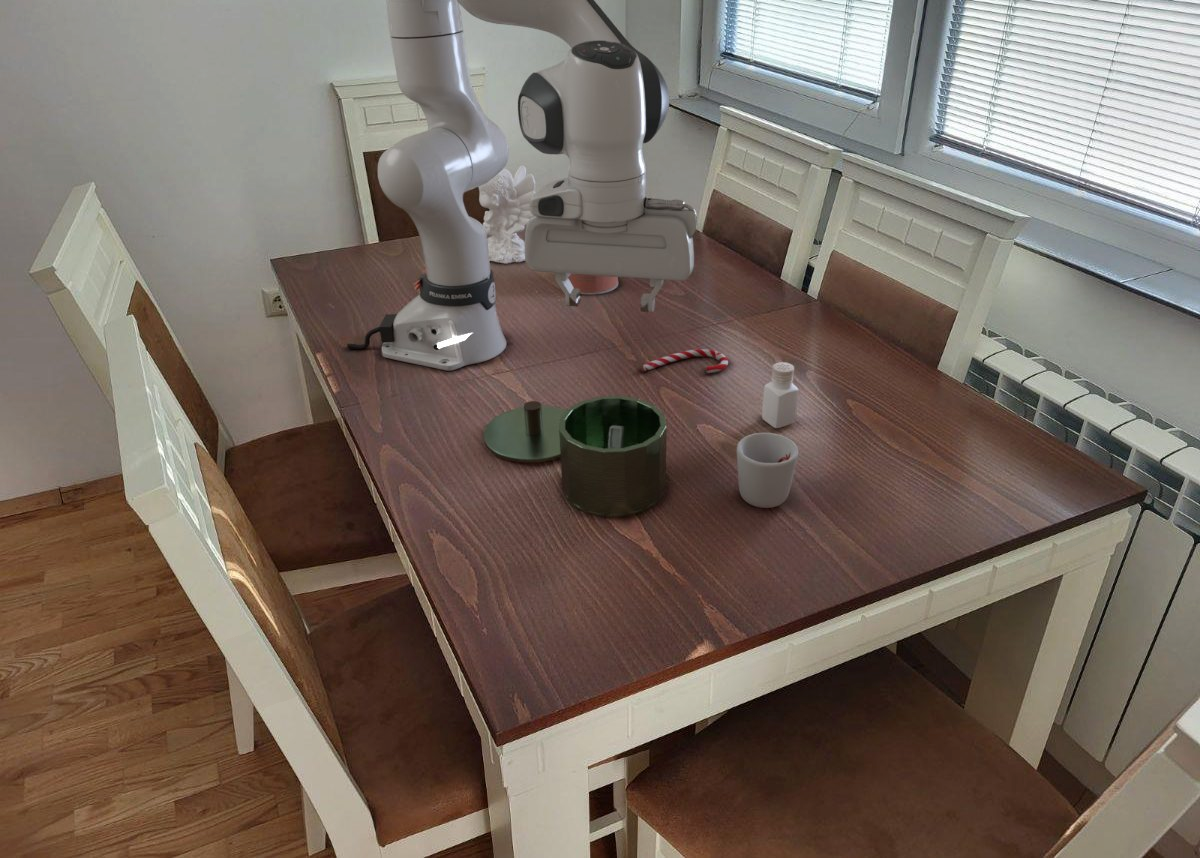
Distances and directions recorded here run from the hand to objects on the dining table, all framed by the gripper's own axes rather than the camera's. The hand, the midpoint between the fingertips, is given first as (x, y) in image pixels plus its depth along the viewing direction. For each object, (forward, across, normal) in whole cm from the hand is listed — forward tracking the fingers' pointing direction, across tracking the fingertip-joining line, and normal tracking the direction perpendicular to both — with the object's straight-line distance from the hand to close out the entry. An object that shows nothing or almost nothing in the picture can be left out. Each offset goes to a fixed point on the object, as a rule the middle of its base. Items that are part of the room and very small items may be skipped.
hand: (610, 307), depth 109 cm
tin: (+27, 0, 0) cm, 27 cm away
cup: (+27, -20, -3) cm, 34 cm away
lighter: (+27, 0, 0) cm, 27 cm away
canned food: (+27, +21, -70) cm, 78 cm away
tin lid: (+26, +15, -10) cm, 32 cm away
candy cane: (+27, -4, -37) cm, 46 cm away
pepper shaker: (+27, -21, -22) cm, 41 cm away
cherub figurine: (+27, +44, -84) cm, 99 cm away
